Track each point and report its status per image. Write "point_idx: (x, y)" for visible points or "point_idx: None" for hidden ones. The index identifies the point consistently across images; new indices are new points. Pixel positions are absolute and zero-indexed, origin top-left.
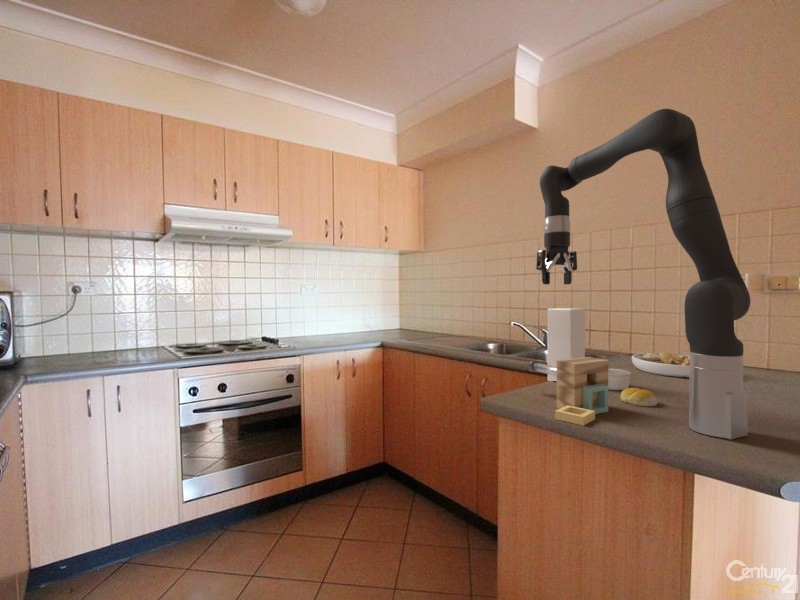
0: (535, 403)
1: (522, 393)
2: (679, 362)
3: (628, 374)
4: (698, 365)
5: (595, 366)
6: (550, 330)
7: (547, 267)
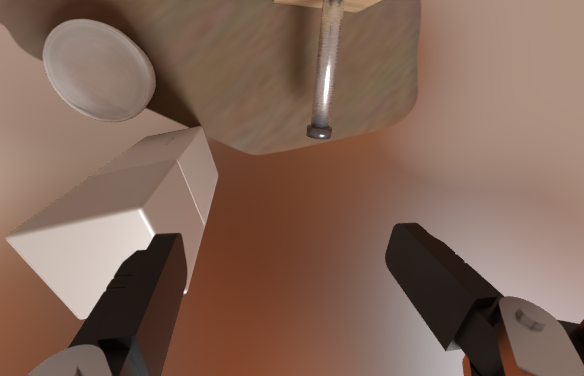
0: (363, 57)
1: (330, 122)
2: None
3: (78, 19)
4: None
5: None
6: (198, 229)
7: (572, 349)
